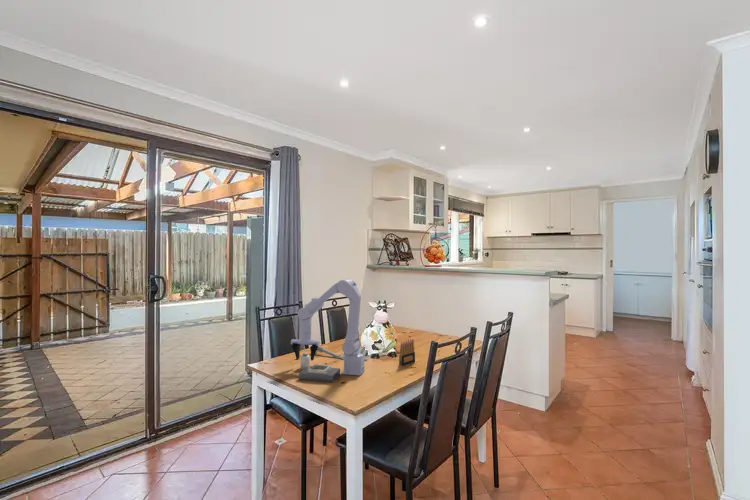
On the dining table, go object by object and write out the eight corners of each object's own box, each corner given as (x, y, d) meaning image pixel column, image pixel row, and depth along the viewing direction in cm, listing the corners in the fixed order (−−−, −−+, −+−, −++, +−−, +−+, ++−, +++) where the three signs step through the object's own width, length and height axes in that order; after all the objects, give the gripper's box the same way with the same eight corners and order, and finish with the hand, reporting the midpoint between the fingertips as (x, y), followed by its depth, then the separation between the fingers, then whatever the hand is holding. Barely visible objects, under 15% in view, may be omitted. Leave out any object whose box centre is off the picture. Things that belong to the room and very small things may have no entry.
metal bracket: (346, 342, 203) (372, 344, 200) (347, 351, 205) (372, 353, 202) (338, 355, 190) (365, 358, 187) (339, 365, 191) (366, 367, 188)
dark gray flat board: (340, 375, 166) (340, 365, 166) (333, 382, 156) (333, 372, 156) (307, 372, 169) (307, 362, 169) (298, 379, 159) (298, 369, 159)
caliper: (312, 353, 202) (312, 342, 203) (313, 353, 203) (313, 341, 203) (340, 359, 191) (340, 347, 191) (341, 358, 192) (342, 347, 192)
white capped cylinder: (311, 366, 177) (311, 352, 177) (307, 369, 173) (307, 355, 173) (302, 366, 178) (302, 352, 178) (299, 369, 174) (299, 354, 174)
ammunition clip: (412, 360, 188) (412, 338, 188) (415, 361, 187) (415, 338, 187) (399, 365, 181) (399, 341, 181) (401, 366, 179) (401, 342, 180)
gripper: (322, 330, 178) (321, 358, 178) (295, 329, 181) (294, 356, 181) (316, 333, 171) (316, 362, 171) (288, 332, 175) (288, 360, 174)
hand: (305, 359), depth 176 cm, fingers open, 7 cm apart
